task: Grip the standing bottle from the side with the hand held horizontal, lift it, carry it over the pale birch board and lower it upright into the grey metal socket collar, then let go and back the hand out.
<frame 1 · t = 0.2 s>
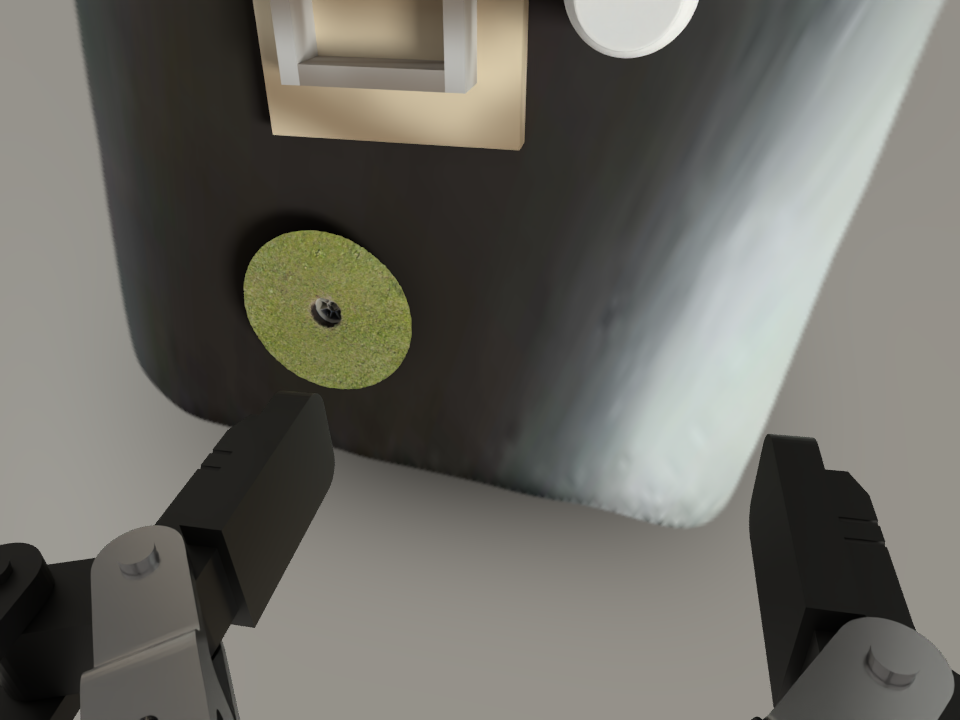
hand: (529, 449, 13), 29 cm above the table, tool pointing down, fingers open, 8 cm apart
green disc with hole: (338, 300, 48), on the table
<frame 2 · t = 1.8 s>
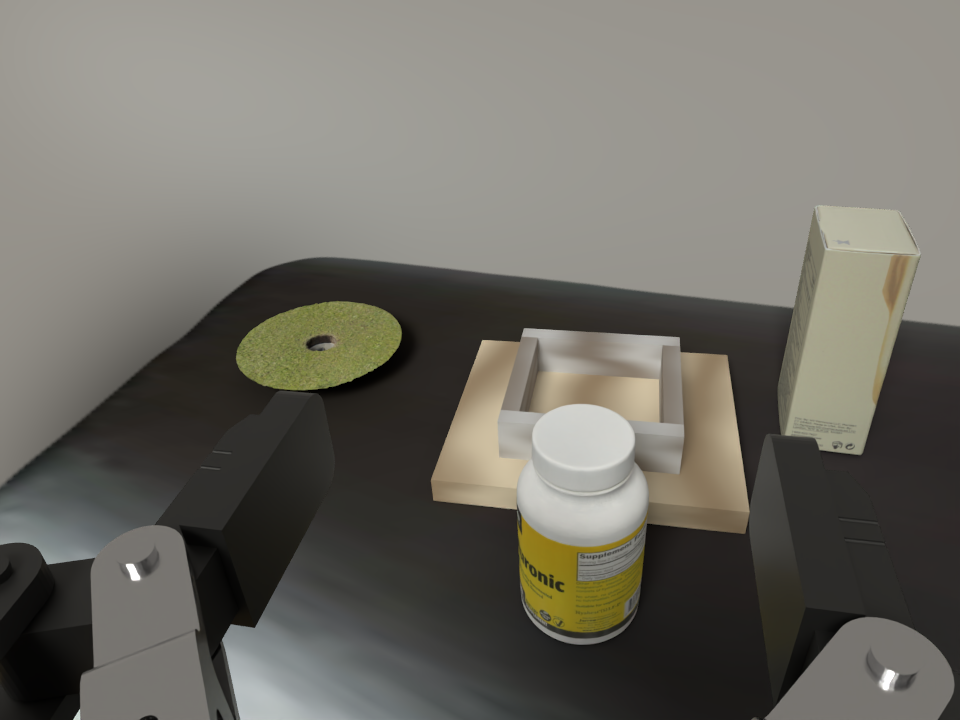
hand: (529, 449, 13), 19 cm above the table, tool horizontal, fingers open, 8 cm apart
socket board: (592, 431, 43), on the table
skincare box: (815, 421, 43), on the table
green disc with hole: (325, 366, 51), on the table
supplement bottle: (578, 601, 34), on the table
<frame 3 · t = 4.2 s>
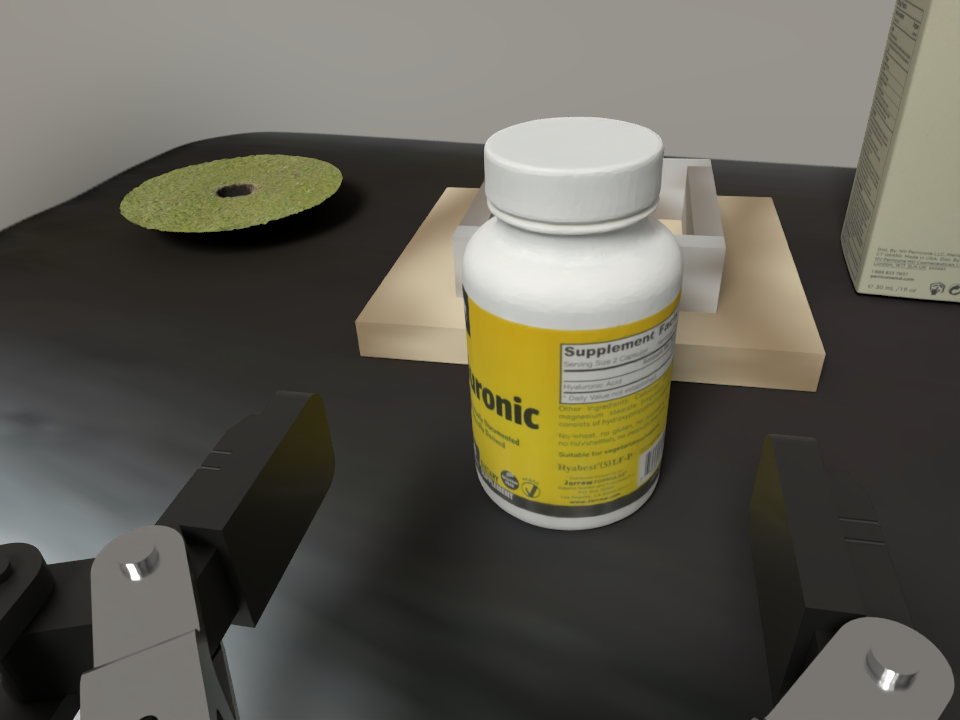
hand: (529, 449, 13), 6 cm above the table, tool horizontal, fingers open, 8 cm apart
socket board: (590, 282, 31), on the table
skincare box: (897, 272, 32), on the table
green disc with hole: (243, 225, 39), on the table
supplement bottle: (565, 475, 22), on the table
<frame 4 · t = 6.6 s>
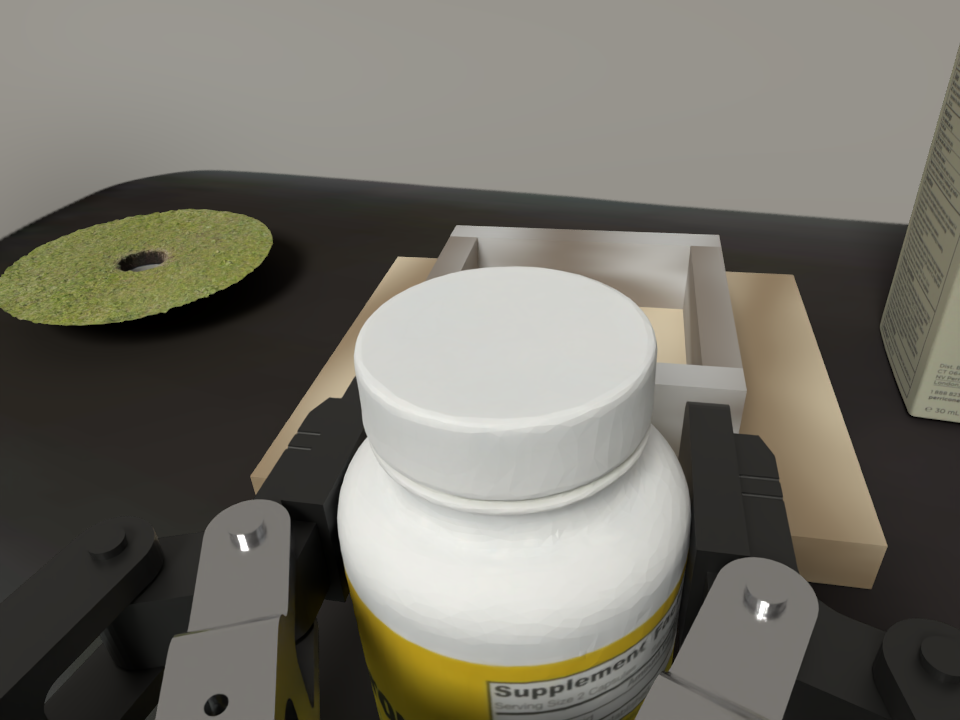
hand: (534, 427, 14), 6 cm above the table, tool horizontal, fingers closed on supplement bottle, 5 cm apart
socket board: (568, 394, 25), on the table
skincare box: (956, 379, 25), on the table
green disc with hole: (154, 300, 33), on the table
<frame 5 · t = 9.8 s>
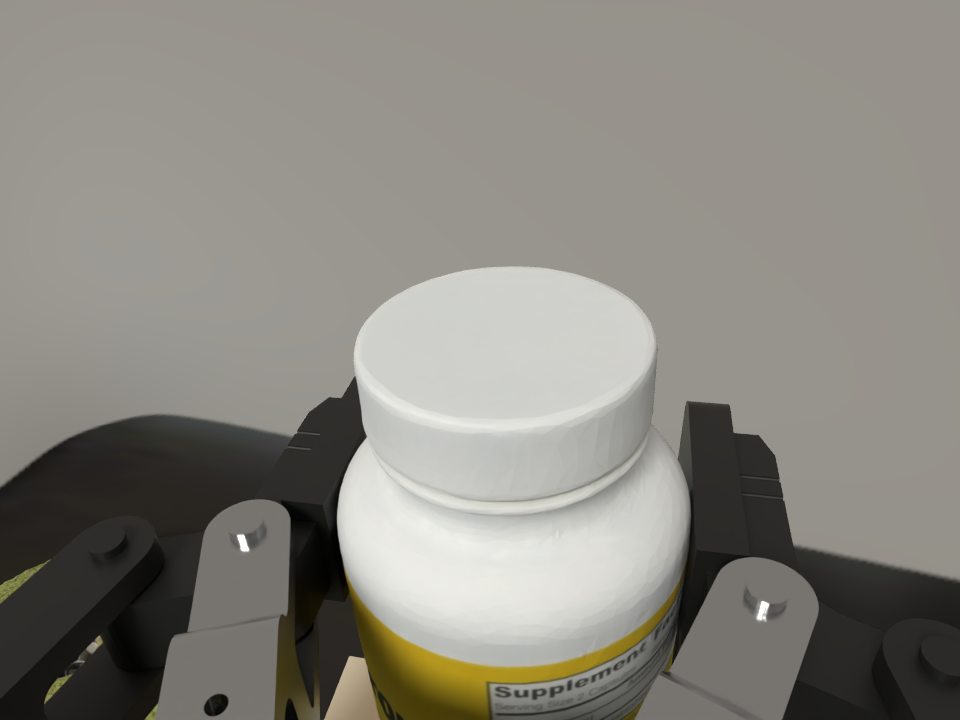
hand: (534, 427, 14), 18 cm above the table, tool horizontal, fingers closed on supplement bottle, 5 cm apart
green disc with hole: (83, 683, 30), on the table
when the fingers open (9 cm above the table, at t = 12.8 s): supplement bottle drops 1 cm, resting on socket board.
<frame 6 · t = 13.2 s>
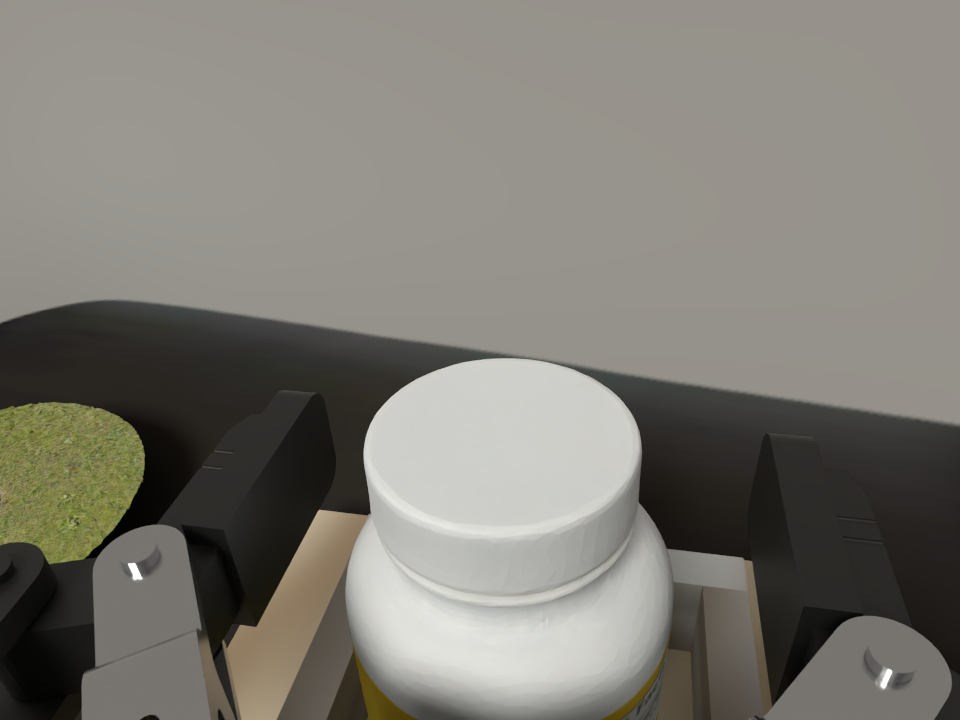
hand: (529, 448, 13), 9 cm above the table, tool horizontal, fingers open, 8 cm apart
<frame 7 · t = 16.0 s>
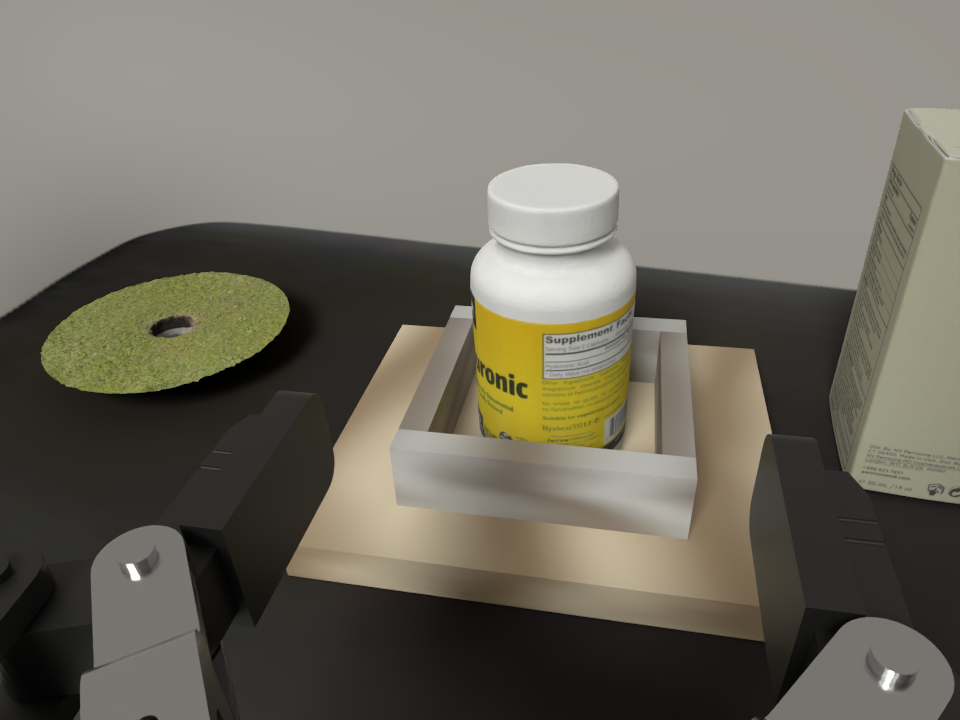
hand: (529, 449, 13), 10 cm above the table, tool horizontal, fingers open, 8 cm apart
socket board: (552, 461, 28), on the table
skincare box: (891, 449, 29), on the table
green disc with hole: (181, 360, 36), on the table
supplement bottle: (550, 439, 27), point 1 cm above the table, touching socket board
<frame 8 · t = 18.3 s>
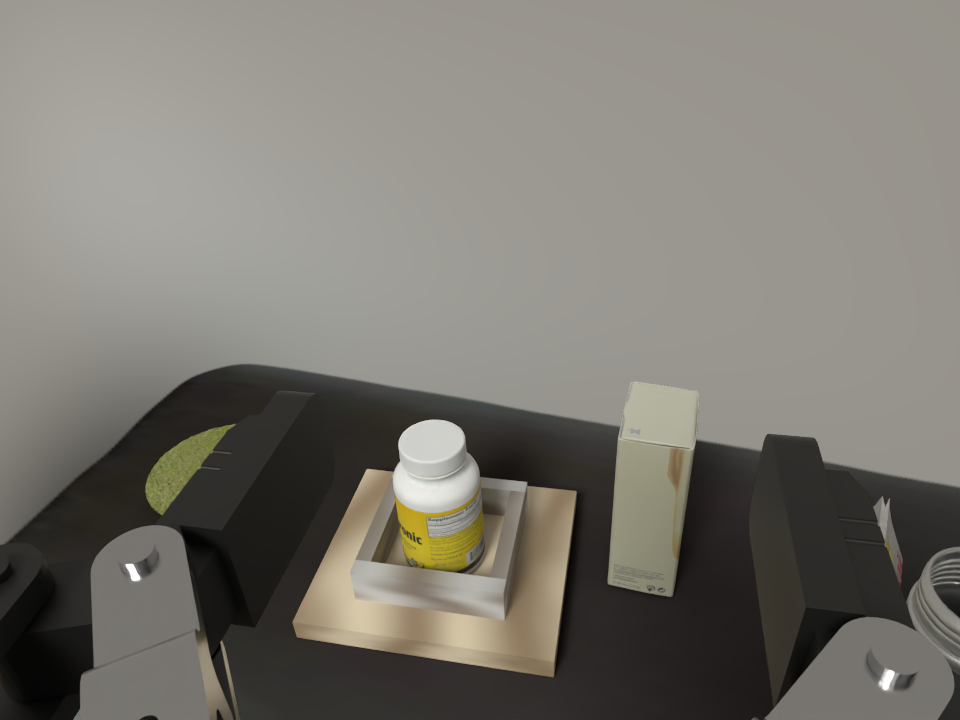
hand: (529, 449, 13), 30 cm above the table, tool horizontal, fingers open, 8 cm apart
socket board: (448, 566, 49), on the table
tea bag: (835, 661, 43), on the table
skincare box: (644, 558, 50), on the table
green disc with hole: (228, 488, 57), on the table
supplement bottle: (445, 555, 48), point 1 cm above the table, touching socket board
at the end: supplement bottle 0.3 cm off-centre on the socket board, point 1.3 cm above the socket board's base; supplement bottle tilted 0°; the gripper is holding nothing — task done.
